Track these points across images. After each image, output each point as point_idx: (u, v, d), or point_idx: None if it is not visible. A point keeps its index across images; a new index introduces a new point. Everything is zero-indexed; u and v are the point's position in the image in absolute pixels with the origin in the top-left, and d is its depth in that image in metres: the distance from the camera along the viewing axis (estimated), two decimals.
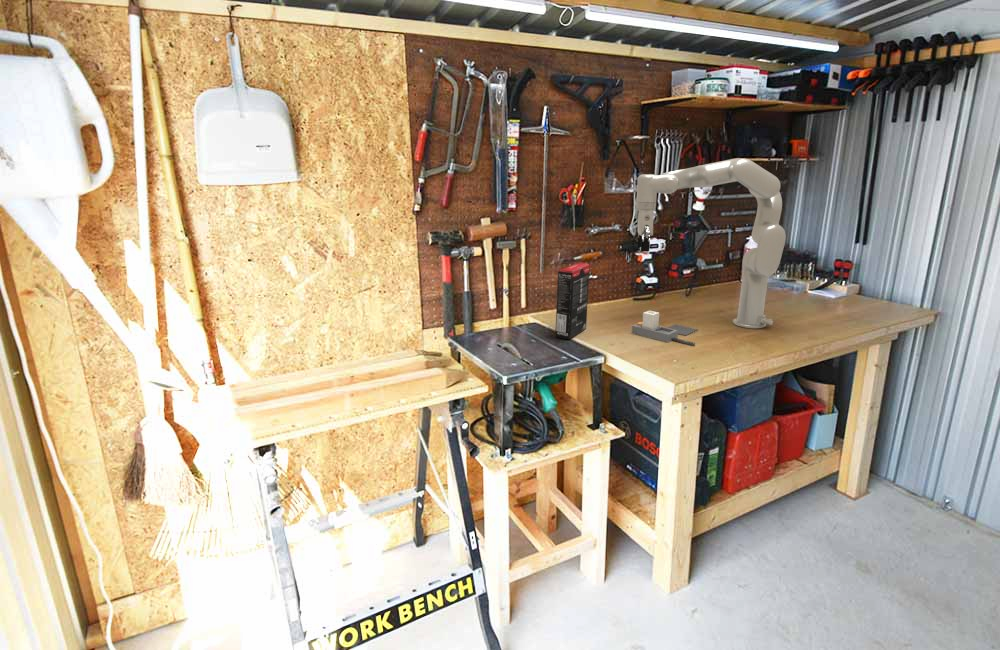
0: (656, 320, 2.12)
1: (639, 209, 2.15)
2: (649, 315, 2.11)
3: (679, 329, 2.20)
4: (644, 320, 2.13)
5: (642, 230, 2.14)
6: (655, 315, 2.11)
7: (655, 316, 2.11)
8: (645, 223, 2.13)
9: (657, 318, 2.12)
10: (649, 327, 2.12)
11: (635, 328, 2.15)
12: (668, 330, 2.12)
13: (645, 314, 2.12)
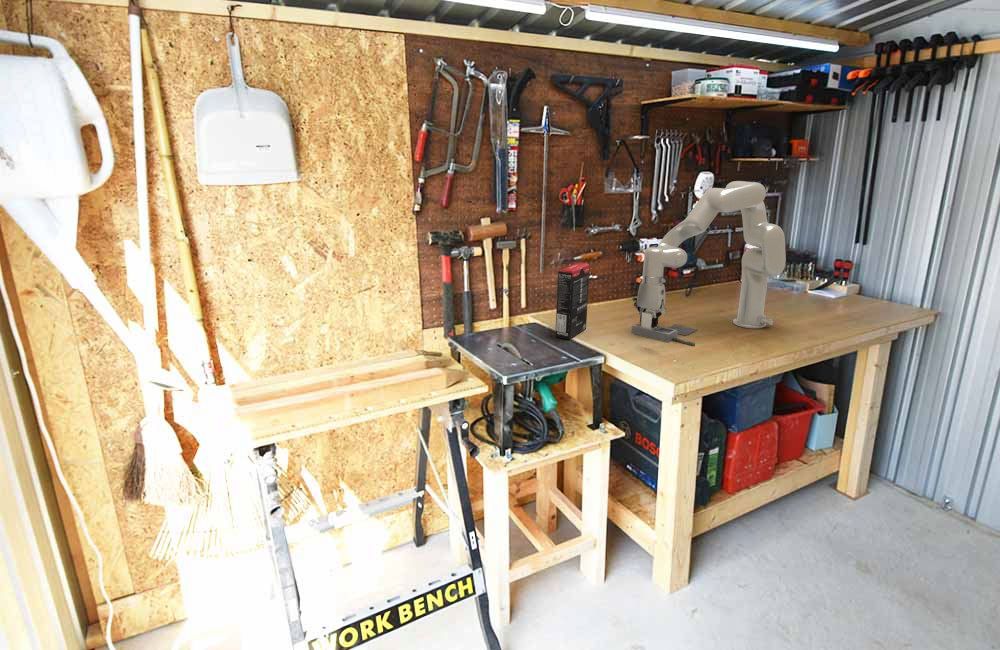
0: None
1: (653, 284, 2.06)
2: (648, 315, 2.11)
3: (679, 329, 2.20)
4: (643, 320, 2.13)
5: (659, 305, 2.07)
6: None
7: None
8: (661, 297, 2.07)
9: None
10: (648, 327, 2.12)
11: (635, 328, 2.15)
12: (668, 330, 2.12)
13: (644, 314, 2.12)
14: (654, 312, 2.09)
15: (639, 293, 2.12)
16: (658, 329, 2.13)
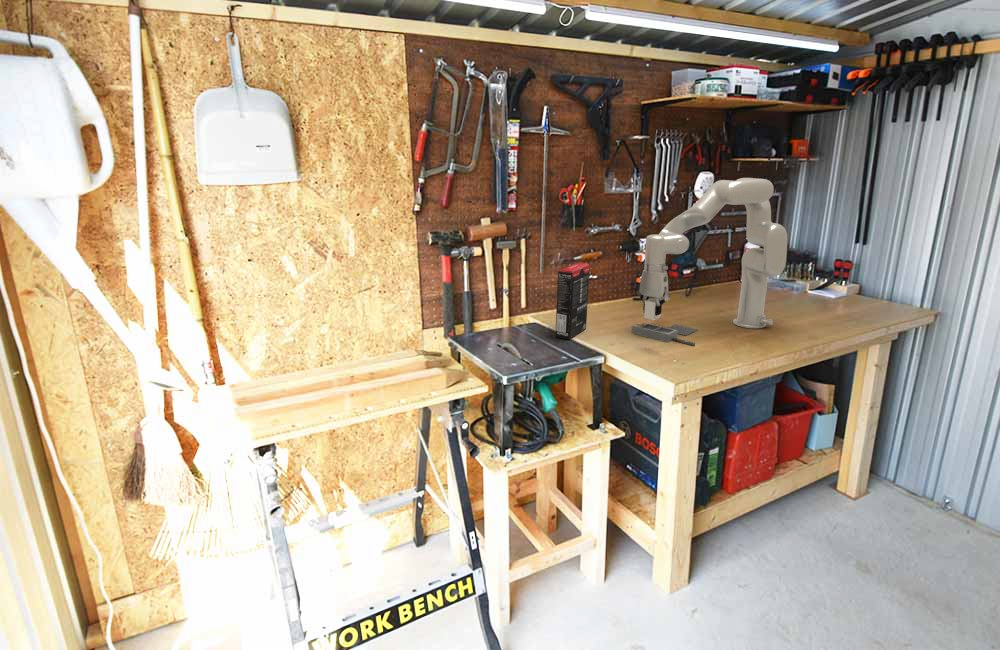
0: None
1: (656, 272, 2.04)
2: (651, 303, 2.10)
3: (679, 329, 2.20)
4: (646, 308, 2.12)
5: (662, 292, 2.05)
6: None
7: None
8: (664, 285, 2.05)
9: None
10: (651, 315, 2.11)
11: (635, 328, 2.15)
12: (668, 330, 2.12)
13: (647, 302, 2.11)
14: (657, 300, 2.08)
15: (642, 281, 2.10)
16: (658, 329, 2.13)
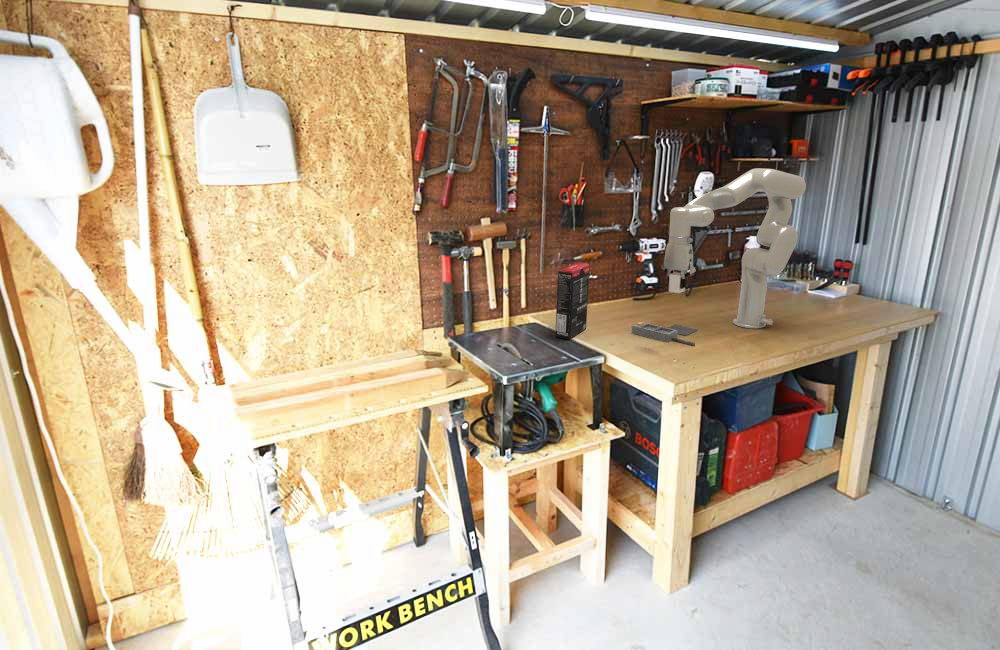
0: None
1: (681, 244, 2.04)
2: (676, 276, 2.10)
3: (679, 329, 2.20)
4: (671, 281, 2.12)
5: (688, 265, 2.06)
6: None
7: None
8: (690, 257, 2.05)
9: None
10: (676, 288, 2.11)
11: (635, 328, 2.15)
12: (668, 330, 2.12)
13: (672, 275, 2.11)
14: (682, 273, 2.08)
15: (666, 255, 2.10)
16: (658, 329, 2.13)
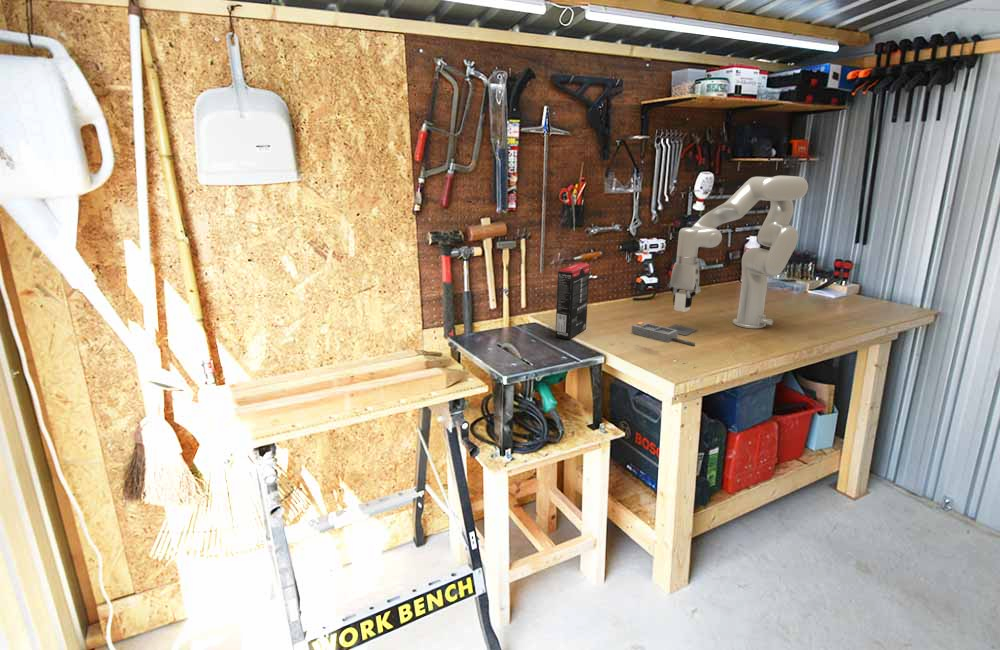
0: None
1: (688, 264, 2.08)
2: (682, 295, 2.13)
3: (679, 329, 2.20)
4: (676, 300, 2.15)
5: (694, 285, 2.09)
6: None
7: None
8: (696, 277, 2.09)
9: None
10: (681, 307, 2.14)
11: (635, 328, 2.15)
12: (668, 330, 2.12)
13: (677, 294, 2.14)
14: (688, 292, 2.11)
15: (673, 273, 2.14)
16: (658, 329, 2.13)
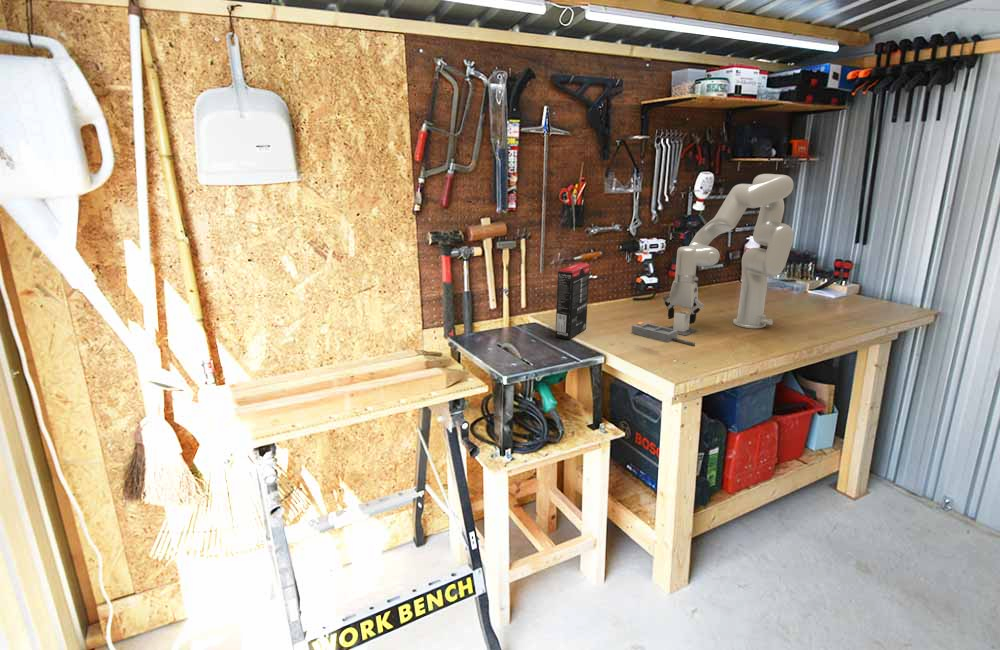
0: (687, 320, 2.17)
1: (687, 282, 2.10)
2: (681, 315, 2.16)
3: None
4: (675, 320, 2.18)
5: (692, 303, 2.11)
6: (686, 315, 2.16)
7: (686, 316, 2.16)
8: (694, 295, 2.11)
9: (688, 318, 2.17)
10: (680, 327, 2.17)
11: (635, 328, 2.15)
12: (668, 330, 2.12)
13: (676, 314, 2.17)
14: (691, 309, 2.12)
15: (672, 291, 2.16)
16: (658, 329, 2.13)
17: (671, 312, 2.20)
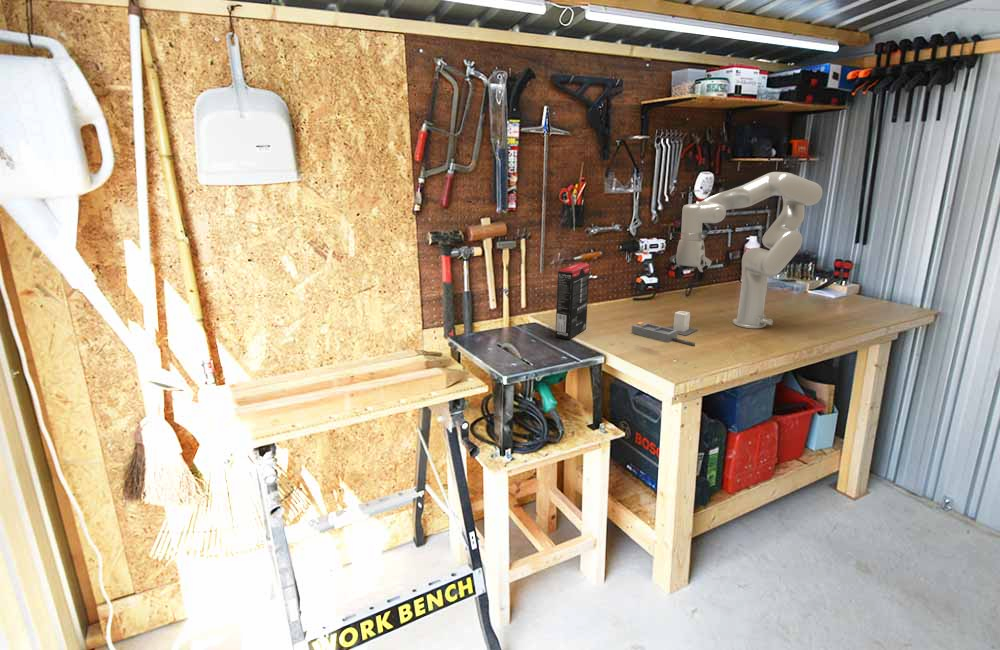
0: (687, 320, 2.17)
1: (693, 240, 2.08)
2: (681, 315, 2.16)
3: None
4: (675, 320, 2.18)
5: (700, 261, 2.09)
6: (686, 315, 2.16)
7: (686, 316, 2.16)
8: (702, 253, 2.09)
9: (688, 318, 2.17)
10: (680, 327, 2.17)
11: (635, 328, 2.15)
12: (668, 330, 2.12)
13: (676, 314, 2.17)
14: (699, 267, 2.11)
15: (678, 251, 2.14)
16: (658, 329, 2.13)
17: (678, 272, 2.18)
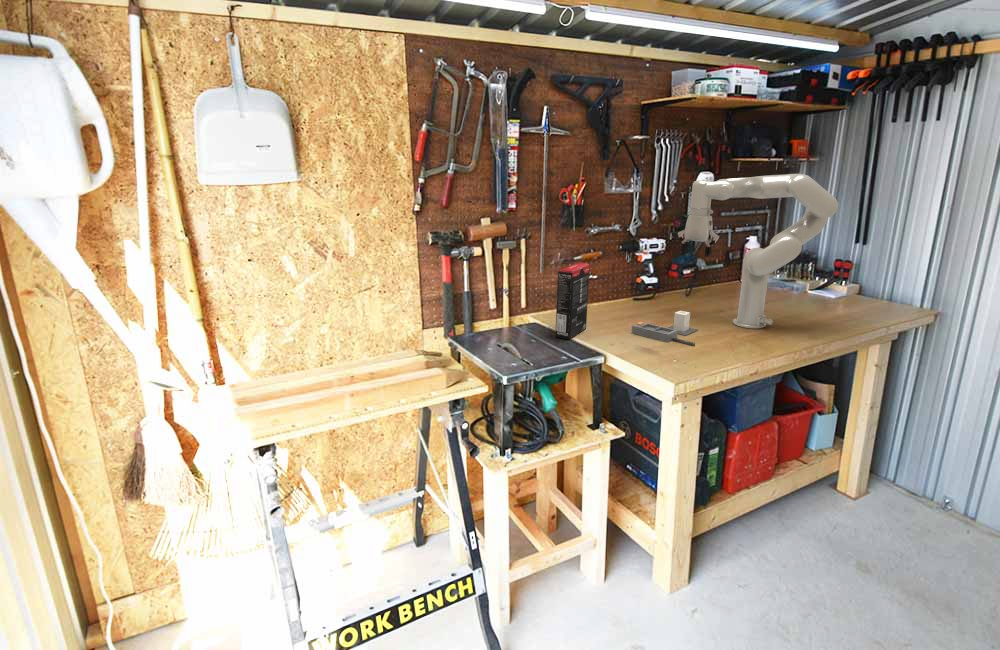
0: (687, 320, 2.17)
1: (702, 215, 2.15)
2: (681, 315, 2.16)
3: None
4: (675, 320, 2.18)
5: (707, 235, 2.17)
6: (686, 315, 2.16)
7: (686, 316, 2.16)
8: (709, 228, 2.16)
9: (688, 318, 2.17)
10: (680, 327, 2.17)
11: (635, 328, 2.15)
12: (668, 330, 2.12)
13: (676, 314, 2.17)
14: (706, 241, 2.18)
15: (687, 226, 2.21)
16: (658, 329, 2.13)
17: (685, 247, 2.25)
